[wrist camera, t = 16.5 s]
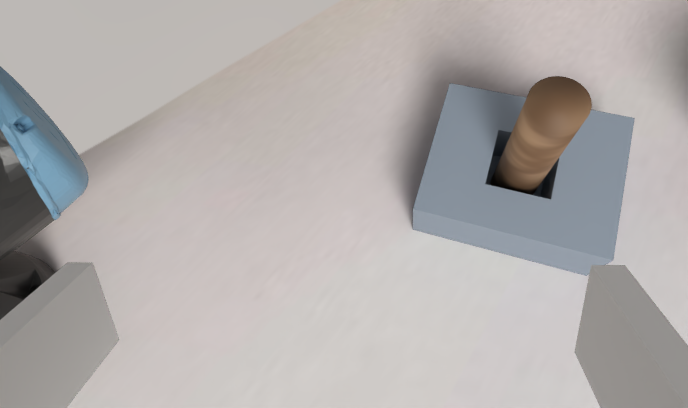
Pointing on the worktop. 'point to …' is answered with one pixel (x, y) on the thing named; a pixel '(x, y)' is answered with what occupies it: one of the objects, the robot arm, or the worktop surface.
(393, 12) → the worktop surface
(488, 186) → the bore block
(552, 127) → the walnut peg
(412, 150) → the worktop surface
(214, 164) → the worktop surface
